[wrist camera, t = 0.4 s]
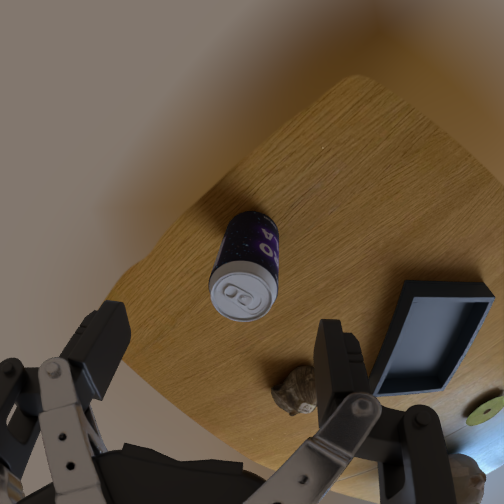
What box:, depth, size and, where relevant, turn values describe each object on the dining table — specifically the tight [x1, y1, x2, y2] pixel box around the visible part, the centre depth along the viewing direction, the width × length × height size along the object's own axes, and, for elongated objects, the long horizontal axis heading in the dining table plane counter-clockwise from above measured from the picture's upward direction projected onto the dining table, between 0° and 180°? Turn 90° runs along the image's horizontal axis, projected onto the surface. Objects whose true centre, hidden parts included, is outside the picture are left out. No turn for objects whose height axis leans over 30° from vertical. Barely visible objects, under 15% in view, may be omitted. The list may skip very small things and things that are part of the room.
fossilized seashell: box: [271, 366, 317, 416], centre depth 45 cm, size 8×7×10 cm
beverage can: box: [209, 211, 279, 322], centre depth 30 cm, size 6×6×12 cm
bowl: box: [448, 454, 486, 504], centre depth 57 cm, size 27×29×20 cm
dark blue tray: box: [368, 280, 495, 397], centre depth 40 cm, size 20×14×4 cm
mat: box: [466, 396, 504, 426], centre depth 51 cm, size 11×11×2 cm
